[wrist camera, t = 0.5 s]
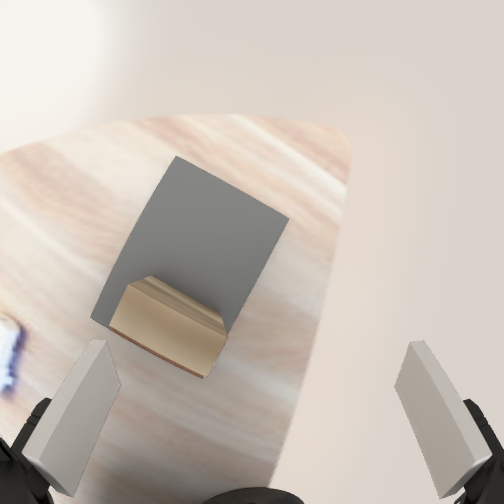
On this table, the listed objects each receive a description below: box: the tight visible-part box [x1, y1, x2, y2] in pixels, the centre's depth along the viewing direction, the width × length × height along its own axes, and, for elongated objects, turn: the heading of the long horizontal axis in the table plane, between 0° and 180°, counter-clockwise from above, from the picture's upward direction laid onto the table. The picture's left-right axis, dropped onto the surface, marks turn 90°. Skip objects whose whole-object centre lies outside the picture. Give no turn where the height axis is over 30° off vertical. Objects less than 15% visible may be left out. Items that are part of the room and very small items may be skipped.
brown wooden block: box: [109, 275, 228, 378], centre depth 23 cm, size 3×7×9 cm, turn 61°
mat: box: [90, 156, 289, 379], centre depth 28 cm, size 17×12×1 cm
